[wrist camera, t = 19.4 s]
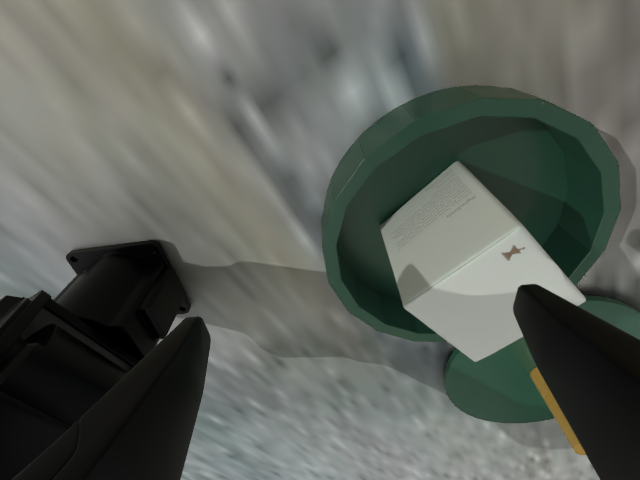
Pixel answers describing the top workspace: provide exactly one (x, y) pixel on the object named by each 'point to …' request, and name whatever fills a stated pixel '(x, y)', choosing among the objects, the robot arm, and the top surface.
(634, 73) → the top surface
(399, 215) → the product box
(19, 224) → the top surface
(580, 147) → the dark green bowl
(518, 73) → the top surface
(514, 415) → the lid
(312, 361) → the top surface
